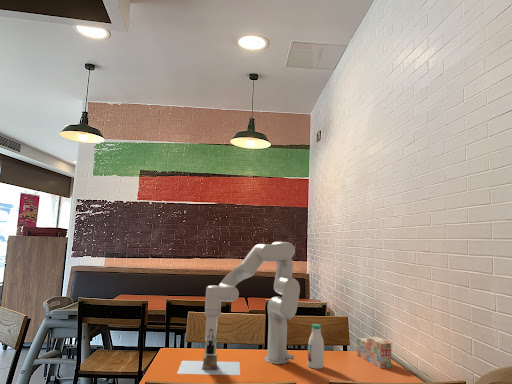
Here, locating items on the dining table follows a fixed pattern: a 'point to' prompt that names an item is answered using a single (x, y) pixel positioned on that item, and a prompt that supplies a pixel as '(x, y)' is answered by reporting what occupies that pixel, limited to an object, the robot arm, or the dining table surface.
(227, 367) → the board
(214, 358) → the walnut block
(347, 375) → the dining table surface
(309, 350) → the milk bottle
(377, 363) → the stack of blocks
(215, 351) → the sage block
